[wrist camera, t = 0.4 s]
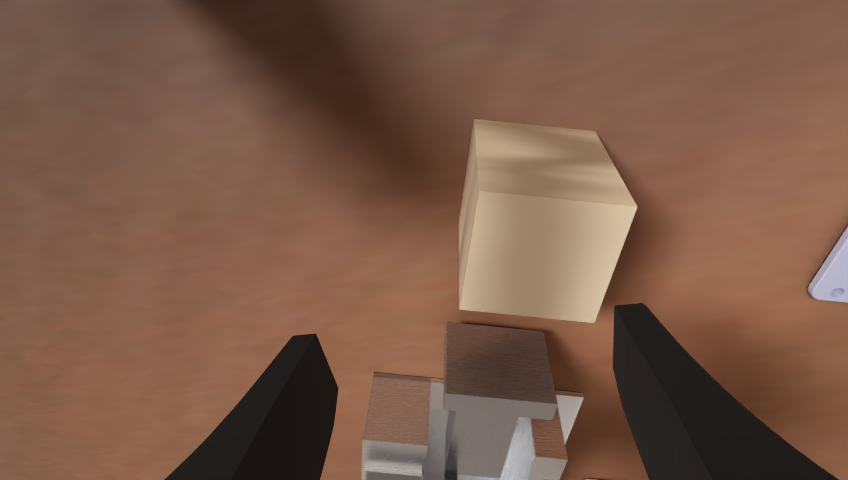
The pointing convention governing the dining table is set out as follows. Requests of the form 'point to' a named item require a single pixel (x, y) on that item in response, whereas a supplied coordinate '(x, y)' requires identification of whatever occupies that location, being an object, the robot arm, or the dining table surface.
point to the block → (539, 222)
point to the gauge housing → (426, 425)
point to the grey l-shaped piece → (491, 393)
